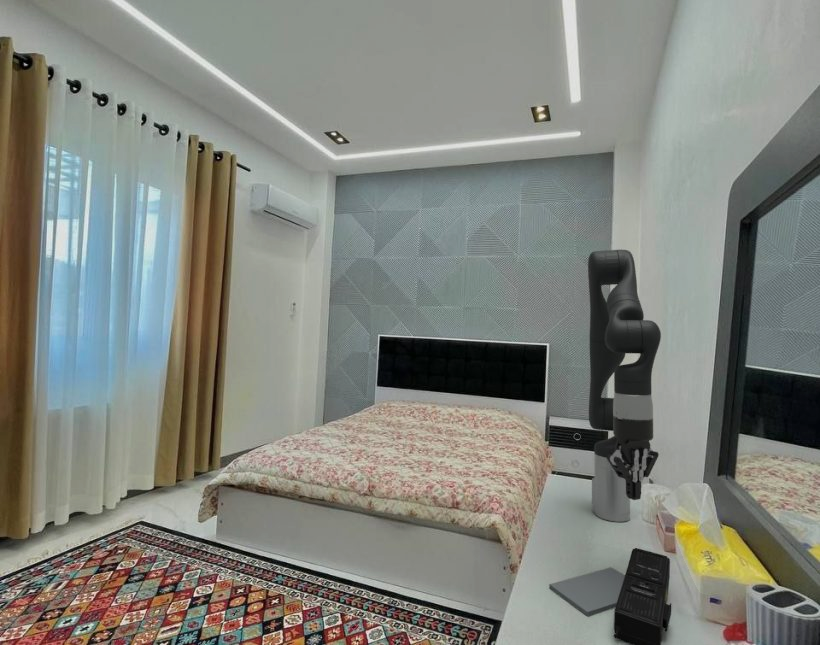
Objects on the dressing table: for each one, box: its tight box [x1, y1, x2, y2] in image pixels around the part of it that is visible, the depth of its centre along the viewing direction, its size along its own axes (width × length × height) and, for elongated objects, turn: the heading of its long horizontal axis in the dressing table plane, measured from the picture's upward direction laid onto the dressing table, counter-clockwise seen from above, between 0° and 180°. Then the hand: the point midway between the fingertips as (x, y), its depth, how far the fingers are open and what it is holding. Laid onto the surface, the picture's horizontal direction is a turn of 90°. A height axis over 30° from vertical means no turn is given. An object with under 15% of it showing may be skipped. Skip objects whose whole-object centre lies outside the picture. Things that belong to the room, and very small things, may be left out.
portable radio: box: [613, 547, 672, 645], centre depth 82 cm, size 8×6×25 cm
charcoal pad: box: [548, 566, 625, 617], centre depth 89 cm, size 10×17×1 cm, turn 114°
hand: (633, 498), depth 94 cm, fingers closed
